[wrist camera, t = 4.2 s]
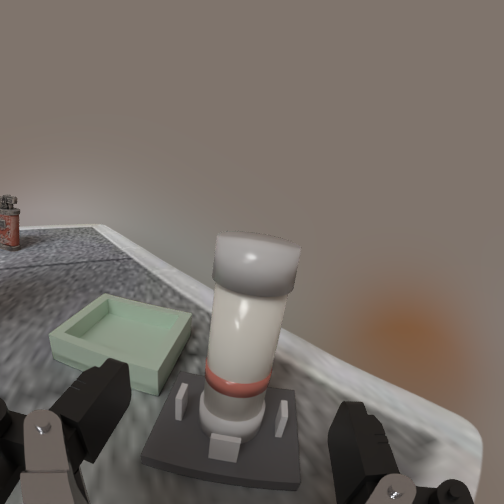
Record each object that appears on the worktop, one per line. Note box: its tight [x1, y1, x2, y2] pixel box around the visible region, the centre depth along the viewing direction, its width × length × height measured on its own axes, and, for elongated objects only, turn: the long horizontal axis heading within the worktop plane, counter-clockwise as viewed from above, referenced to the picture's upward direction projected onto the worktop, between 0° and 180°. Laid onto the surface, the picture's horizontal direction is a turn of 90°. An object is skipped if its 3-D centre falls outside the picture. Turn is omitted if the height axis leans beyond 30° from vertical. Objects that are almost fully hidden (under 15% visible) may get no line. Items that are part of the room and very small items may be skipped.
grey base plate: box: [141, 371, 301, 491], centre depth 17 cm, size 9×9×3 cm
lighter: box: [0, 195, 21, 252], centre depth 41 cm, size 8×3×10 cm, turn 79°
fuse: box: [199, 231, 301, 443], centre depth 15 cm, size 4×4×12 cm
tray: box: [49, 293, 192, 396], centre depth 24 cm, size 10×10×2 cm
